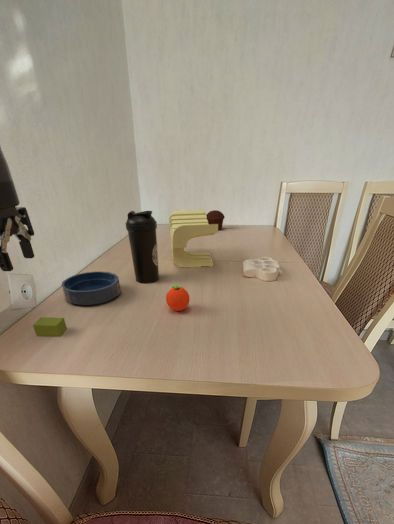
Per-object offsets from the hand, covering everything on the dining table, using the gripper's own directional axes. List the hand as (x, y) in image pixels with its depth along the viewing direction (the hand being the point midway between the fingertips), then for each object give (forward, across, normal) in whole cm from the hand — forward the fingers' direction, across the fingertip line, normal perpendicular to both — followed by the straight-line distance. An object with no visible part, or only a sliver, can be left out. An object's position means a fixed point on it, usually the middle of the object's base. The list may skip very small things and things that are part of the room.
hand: (19, 264), depth 65 cm
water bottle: (+19, -42, +18) cm, 50 cm away
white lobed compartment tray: (+19, -50, +61) cm, 81 cm away
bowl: (+19, -27, +3) cm, 33 cm away
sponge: (+19, 0, +2) cm, 19 cm away
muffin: (+19, -124, +42) cm, 132 cm away
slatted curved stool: (+19, -62, +33) cm, 73 cm away
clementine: (+19, -18, +32) cm, 42 cm away
